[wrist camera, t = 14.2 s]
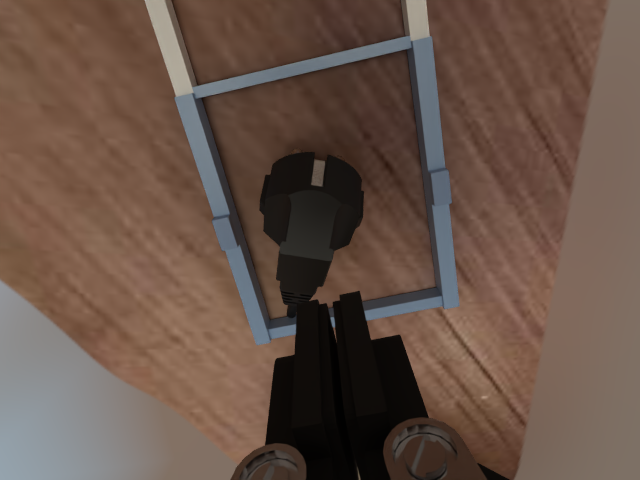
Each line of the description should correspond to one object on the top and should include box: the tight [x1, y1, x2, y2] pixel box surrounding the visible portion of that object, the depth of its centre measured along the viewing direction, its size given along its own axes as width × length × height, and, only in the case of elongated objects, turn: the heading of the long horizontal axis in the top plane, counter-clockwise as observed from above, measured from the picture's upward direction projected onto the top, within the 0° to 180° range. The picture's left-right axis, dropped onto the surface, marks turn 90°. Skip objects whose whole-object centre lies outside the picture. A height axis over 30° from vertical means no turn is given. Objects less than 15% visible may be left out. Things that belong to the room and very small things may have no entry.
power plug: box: [260, 148, 364, 318], centre depth 25 cm, size 6×8×12 cm
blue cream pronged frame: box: [145, 0, 459, 345], centre depth 22 cm, size 31×14×2 cm, turn 12°
